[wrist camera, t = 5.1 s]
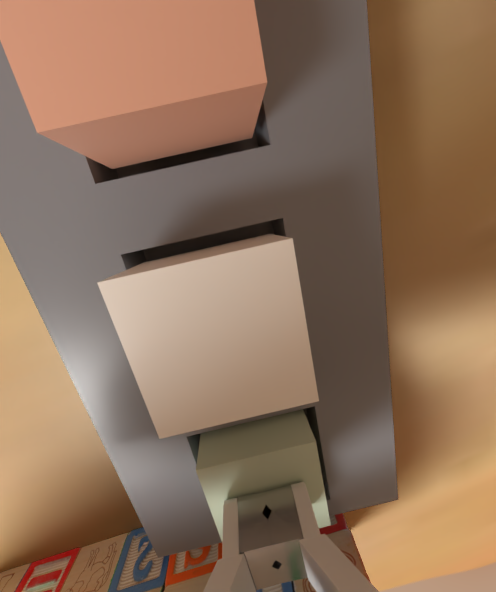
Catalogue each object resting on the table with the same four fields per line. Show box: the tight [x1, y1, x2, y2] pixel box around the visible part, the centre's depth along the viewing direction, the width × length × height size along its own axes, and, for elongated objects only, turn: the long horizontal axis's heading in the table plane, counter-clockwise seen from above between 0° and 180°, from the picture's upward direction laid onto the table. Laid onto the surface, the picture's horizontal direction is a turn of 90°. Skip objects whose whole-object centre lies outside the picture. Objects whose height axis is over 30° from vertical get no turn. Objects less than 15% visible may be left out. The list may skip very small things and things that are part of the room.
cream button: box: [97, 234, 319, 439], centre depth 7 cm, size 4×4×3 cm
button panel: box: [0, 0, 398, 558], centre depth 10 cm, size 21×11×3 cm, turn 12°
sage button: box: [196, 409, 331, 541], centre depth 11 cm, size 4×4×3 cm
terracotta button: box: [0, 0, 267, 169], centre depth 5 cm, size 4×4×3 cm
